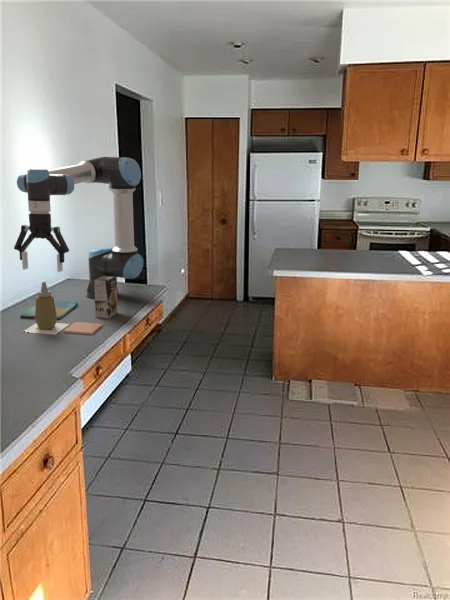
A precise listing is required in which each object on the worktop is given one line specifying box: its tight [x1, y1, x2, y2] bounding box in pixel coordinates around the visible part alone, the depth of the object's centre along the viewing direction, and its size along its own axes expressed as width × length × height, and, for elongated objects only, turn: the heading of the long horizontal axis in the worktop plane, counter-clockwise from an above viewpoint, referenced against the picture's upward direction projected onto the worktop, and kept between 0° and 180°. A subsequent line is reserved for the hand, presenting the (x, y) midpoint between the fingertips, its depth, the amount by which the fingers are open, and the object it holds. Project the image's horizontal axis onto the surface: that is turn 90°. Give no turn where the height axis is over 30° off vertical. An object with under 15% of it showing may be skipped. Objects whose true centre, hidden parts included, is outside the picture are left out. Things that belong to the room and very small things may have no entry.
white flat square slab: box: [23, 322, 70, 336], centre depth 194 cm, size 13×13×1 cm
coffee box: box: [94, 276, 118, 319], centre depth 211 cm, size 9×6×16 cm
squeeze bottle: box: [34, 281, 58, 329], centre depth 192 cm, size 8×8×18 cm
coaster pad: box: [63, 321, 103, 335], centre depth 194 cm, size 11×11×1 cm
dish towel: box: [19, 300, 79, 321], centre depth 216 cm, size 17×23×2 cm
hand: (42, 270), depth 188 cm, fingers open, 13 cm apart
